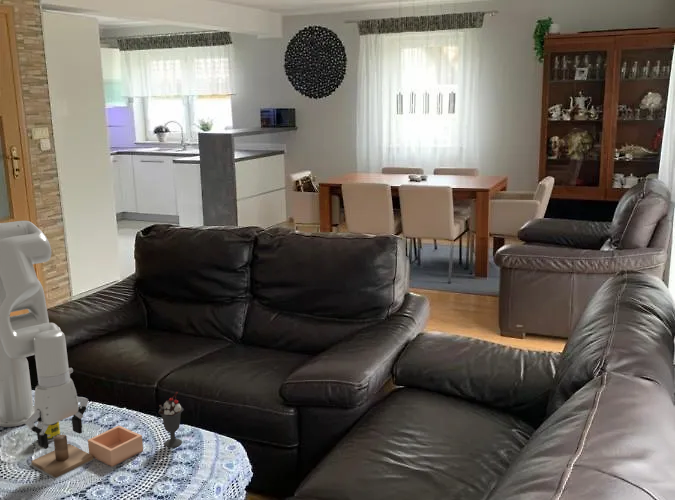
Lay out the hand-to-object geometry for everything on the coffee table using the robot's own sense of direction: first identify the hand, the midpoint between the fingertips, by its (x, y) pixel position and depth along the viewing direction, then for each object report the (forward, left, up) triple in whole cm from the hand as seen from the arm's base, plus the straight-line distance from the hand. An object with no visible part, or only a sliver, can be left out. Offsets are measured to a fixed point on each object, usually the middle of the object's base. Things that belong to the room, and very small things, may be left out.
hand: (61, 439), depth 177 cm
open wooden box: (+7, +11, -7) cm, 15 cm away
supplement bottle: (-16, +6, -7) cm, 18 cm away
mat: (-1, 0, -7) cm, 7 cm away
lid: (-1, 0, -7) cm, 7 cm away
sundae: (+15, +24, -7) cm, 30 cm away
